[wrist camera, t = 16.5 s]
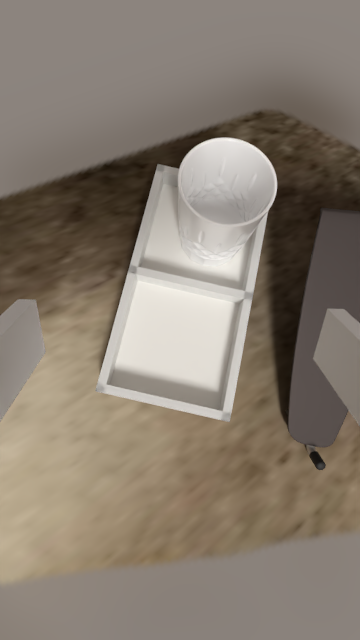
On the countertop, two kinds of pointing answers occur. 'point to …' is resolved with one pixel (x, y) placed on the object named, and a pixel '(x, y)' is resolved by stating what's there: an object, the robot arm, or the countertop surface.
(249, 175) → the white cup
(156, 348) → the white divided tray
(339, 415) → the portable electronic device stand
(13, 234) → the countertop surface
